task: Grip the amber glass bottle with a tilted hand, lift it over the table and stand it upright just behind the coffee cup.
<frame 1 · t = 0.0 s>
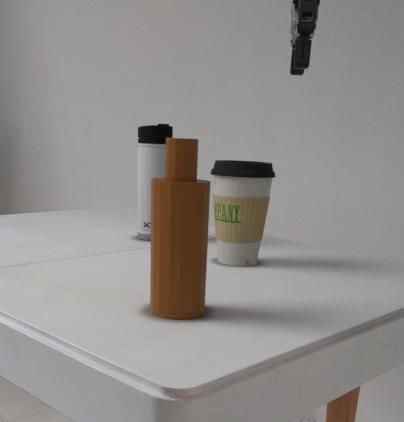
hand: (298, 72, 87), 28 cm above the table, tool pointing down, fingers open, 8 cm apart
coffee cup: (237, 262, 90), on the table
amber bottle: (177, 311, 63), on the table
travel mug: (154, 239, 106), on the table
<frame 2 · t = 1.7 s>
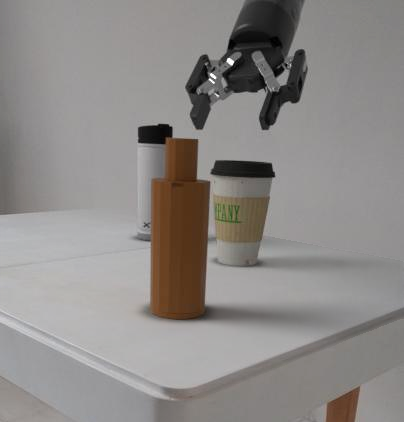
hand: (228, 124, 66), 20 cm above the table, tool tilted 45°, fingers open, 8 cm apart
nothing on the table moved.
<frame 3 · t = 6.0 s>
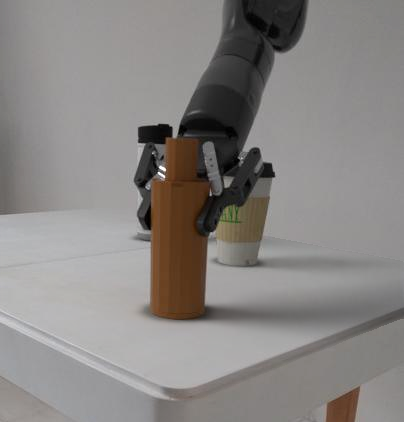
hand: (172, 228, 58), 9 cm above the table, tool tilted 45°, fingers closed on amber bottle, 6 cm apart
amber bottle: (177, 311, 63), on the table, touching gripper
everything else where it was.
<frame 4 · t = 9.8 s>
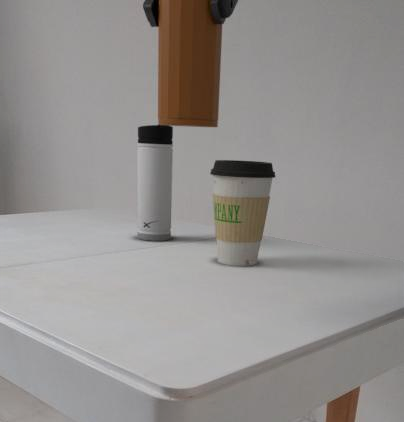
hand: (182, 16, 52), 29 cm above the table, tool tilted 45°, fingers closed on amber bottle, 6 cm apart
amber bottle: (188, 126, 57), point 19 cm above the table, touching gripper
everything else where it was.
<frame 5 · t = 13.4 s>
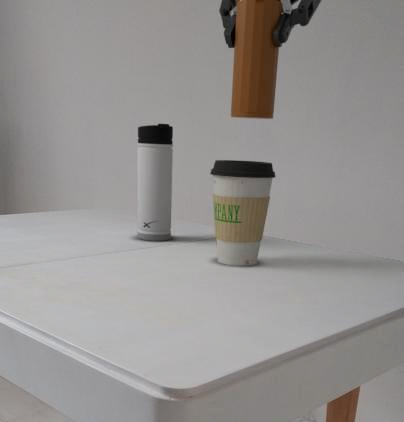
hand: (252, 41, 75), 30 cm above the table, tool tilted 45°, fingers closed on amber bottle, 6 cm apart
amber bottle: (251, 117, 80), point 21 cm above the table, touching gripper
everything else where it was.
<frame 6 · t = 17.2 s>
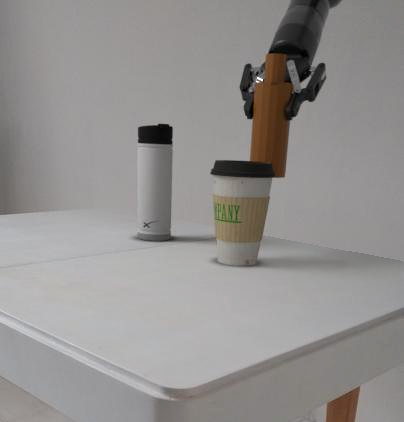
hand: (268, 115, 89), 22 cm above the table, tool tilted 45°, fingers closed on amber bottle, 6 cm apart
amber bottle: (266, 176, 94), point 13 cm above the table, touching gripper
everything else where it was.
when the fingers open (9 cm above the table, at t = 21.0 s): amber bottle stays where it is, on the table.
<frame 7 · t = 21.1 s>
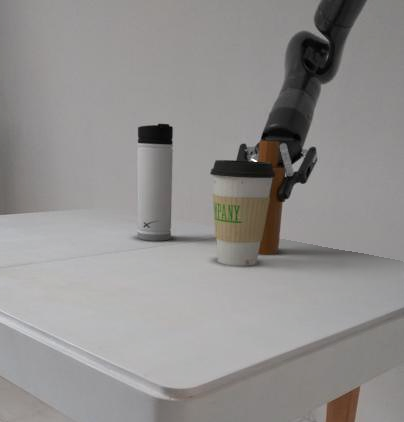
hand: (261, 196, 94), 9 cm above the table, tool tilted 45°, fingers open, 6 cm apart
amber bottle: (260, 250, 99), on the table
everything else where it was.
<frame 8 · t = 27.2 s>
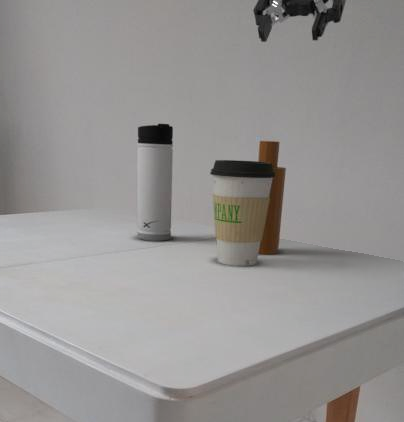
hand: (287, 36, 90), 34 cm above the table, tool tilted 45°, fingers open, 8 cm apart
nothing on the table moved.
at the end: amber bottle 11.1 cm from the coffee cup (horizontally); amber bottle tilted 0°; the gripper is holding nothing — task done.
